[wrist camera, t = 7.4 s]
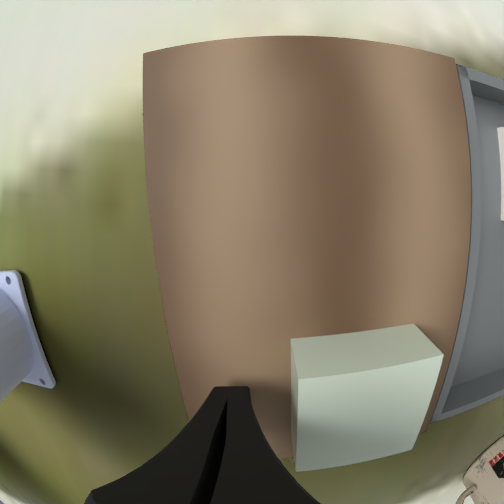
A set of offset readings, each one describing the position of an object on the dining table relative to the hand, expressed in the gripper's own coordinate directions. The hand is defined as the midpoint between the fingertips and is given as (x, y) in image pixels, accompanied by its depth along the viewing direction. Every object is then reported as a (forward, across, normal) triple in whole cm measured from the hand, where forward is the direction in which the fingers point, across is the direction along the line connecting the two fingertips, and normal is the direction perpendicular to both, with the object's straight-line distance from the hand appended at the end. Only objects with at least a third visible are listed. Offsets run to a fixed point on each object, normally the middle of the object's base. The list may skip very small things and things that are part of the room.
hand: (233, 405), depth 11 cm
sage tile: (+1, -5, 0) cm, 5 cm away
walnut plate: (+4, -4, -4) cm, 7 cm away
